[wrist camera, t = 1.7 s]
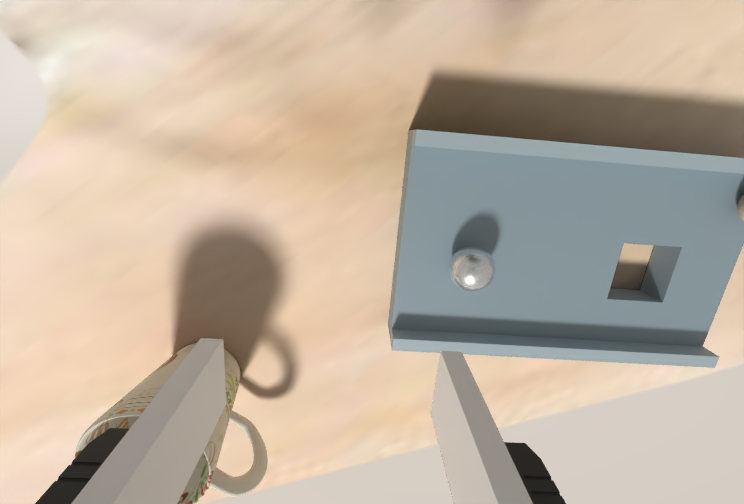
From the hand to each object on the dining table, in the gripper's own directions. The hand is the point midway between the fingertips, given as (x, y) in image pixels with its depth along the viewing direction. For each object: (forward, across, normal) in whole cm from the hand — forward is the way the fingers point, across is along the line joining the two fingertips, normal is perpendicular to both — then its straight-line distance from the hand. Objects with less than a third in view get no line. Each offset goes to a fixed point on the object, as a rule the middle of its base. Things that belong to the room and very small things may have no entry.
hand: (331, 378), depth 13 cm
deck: (+17, +17, +1) cm, 24 cm away
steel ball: (+13, +9, 0) cm, 16 cm away
